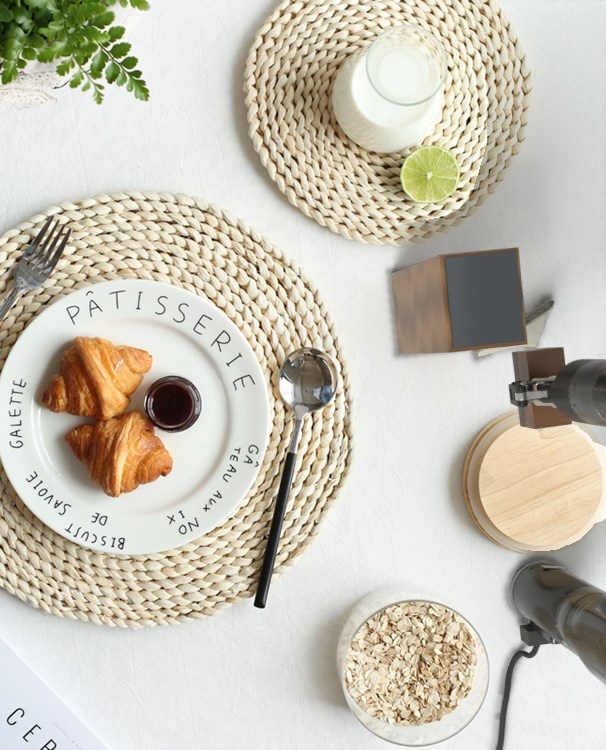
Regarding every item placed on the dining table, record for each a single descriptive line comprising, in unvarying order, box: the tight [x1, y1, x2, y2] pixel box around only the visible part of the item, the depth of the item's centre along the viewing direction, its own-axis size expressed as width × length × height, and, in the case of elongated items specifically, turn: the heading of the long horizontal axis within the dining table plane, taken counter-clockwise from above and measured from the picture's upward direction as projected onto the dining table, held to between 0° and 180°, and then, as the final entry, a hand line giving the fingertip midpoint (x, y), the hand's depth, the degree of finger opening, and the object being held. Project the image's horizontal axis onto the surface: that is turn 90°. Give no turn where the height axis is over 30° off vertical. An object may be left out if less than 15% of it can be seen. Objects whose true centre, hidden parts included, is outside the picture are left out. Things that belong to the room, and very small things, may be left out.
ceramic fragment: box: [476, 299, 555, 358], centre depth 122 cm, size 14×5×4 cm, turn 120°
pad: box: [444, 251, 525, 348], centre depth 101 cm, size 11×9×1 cm
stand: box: [390, 246, 528, 355], centre depth 112 cm, size 12×10×22 cm
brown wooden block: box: [511, 346, 573, 430], centre depth 108 cm, size 10×5×4 cm, turn 7°
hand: (535, 386), depth 110 cm, fingers closed on brown wooden block, 5 cm apart
